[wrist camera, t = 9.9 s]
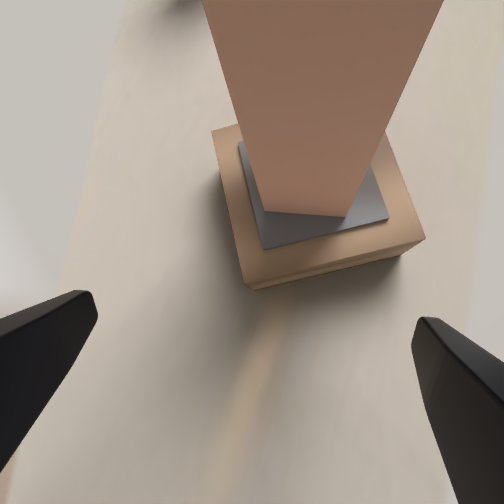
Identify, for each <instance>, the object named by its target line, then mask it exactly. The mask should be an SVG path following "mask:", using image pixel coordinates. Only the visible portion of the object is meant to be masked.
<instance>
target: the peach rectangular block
mask: <svg viewBox="0 0 504 504" xmlns="http://www.w3.org/2000/svg"><path fill="white" fill-rule="evenodd" d="M443 1H444V0H202V3H203V7H204V10H205V13H206V17H207V20H208V23H209V27H210V30H211V33H212V37H213V40H214V43H215V47H216V50H217V53H218V57H219V60H220V64H221V67H222V70H223V74H224V77H225V80H226V84H227V87H228V90H229V94H230V97H231V100H232V104H233V107H234V110H235V114H236V117H237V120H238V124H239V127H240V130H241V134H242V137H243V140H244V144H245V147H246V151H247V154H248V157H249V161H250V164H251V167H252V171H253V174H254V177H255V181H256V184H257V187H258V191H259V194H260V197H261V201H262V204H263V207H264V211H270V212H283V213H297V214H310V215H323V216H336V217H346V216H347V213H348V211H349V209H350V207H351V205H352V202H353V200H354V198H355V196H356V194H357V191H358V189H359V187H360V185H361V182H362V180H363V178H364V176H365V174H366V171H367V169H368V167H369V165H370V163H371V160H372V158H373V156H374V154H375V152H376V149H377V147H378V145H379V143H380V140H381V138H382V136H383V134H384V132H385V129H386V127H387V125H388V123H389V121H390V118H391V116H392V114H393V112H394V109H395V107H396V105H397V103H398V101H399V98H400V96H401V94H402V92H403V90H404V87H405V85H406V83H407V81H408V79H409V76H410V74H411V72H412V70H413V67H414V65H415V63H416V61H417V59H418V56H419V54H420V52H421V50H422V48H423V45H424V43H425V41H426V39H427V36H428V34H429V32H430V30H431V28H432V25H433V23H434V21H435V19H436V17H437V14H438V12H439V10H440V8H441V6H442V3H443Z"/></svg>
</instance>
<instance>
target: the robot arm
mask: <svg viewBox="0 0 504 504" xmlns="http://www.w3.org/2000/svg"><path fill="white" fill-rule="evenodd" d="M97 319H98V312H97V309H96V306H95V302H94V299H93V296H92V294H91V293H90V292H89V291H85V290H73V291H71V292H68V293H66V294H63V295H60V296H58V297H55V298H53V299H50V300H47V301H45V302H42V303H40V304H37V305H35V306H32V307H29V308H27V309H25V310H22V311H19V312H17V313H14V314H11V315H9V316H6V317H4V318H1V319H0V472H1V471H2V470H3V468H4V467H5V465H6V464H7V463H8V461H9V460H10V458H11V457H12V455H13V454H14V452H15V451H16V449H17V448H18V446H19V445H20V443H21V442H22V440H23V439H24V437H25V436H26V434H27V433H28V431H29V430H30V428H31V427H32V425H33V424H34V423H35V421H36V420H37V418H38V417H39V415H40V414H41V412H42V411H43V409H44V408H45V406H46V405H47V403H48V402H49V400H50V399H51V397H52V396H53V394H54V393H55V391H56V390H57V388H58V387H59V385H60V384H61V382H62V381H63V380H64V378H65V377H66V375H67V374H68V372H69V370H70V369H71V367H72V366H73V364H74V362H75V360H76V359H77V357H78V355H79V353H80V351H81V349H82V348H83V346H84V344H85V342H86V340H87V338H88V337H89V335H90V333H91V331H92V329H93V327H94V326H95V324H96V322H97ZM411 349H412V354H413V359H414V363H415V367H416V372H417V376H418V380H419V385H420V389H421V393H422V398H423V402H424V406H425V409H426V413H427V416H428V419H429V422H430V424H431V427H432V430H433V433H434V436H435V439H436V441H437V444H438V447H439V450H440V453H441V456H442V458H443V461H444V464H445V467H446V470H447V473H448V475H449V478H450V481H451V484H452V487H453V490H454V492H455V495H456V498H457V501H458V504H504V362H502V361H501V360H499V359H498V358H496V357H495V356H493V355H492V354H490V353H489V352H488V351H486V350H485V349H483V348H482V347H480V346H479V345H477V344H476V343H474V342H473V341H471V340H470V339H469V338H467V337H466V336H464V335H463V334H461V333H460V332H458V331H457V330H455V329H454V328H452V327H451V326H449V325H448V324H447V323H445V322H444V321H442V320H441V319H439V318H435V317H420V318H419V319H418V321H417V324H416V328H415V331H414V335H413V339H412V343H411Z"/></svg>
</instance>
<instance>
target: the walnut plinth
mask: <svg viewBox="0 0 504 504" xmlns="http://www.w3.org/2000/svg"><path fill="white" fill-rule="evenodd" d="M211 132H212V137H213V142H214V146H215V151H216V156H217V160H218V165H219V170H220V174H221V179H222V184H223V188H224V193H225V197H226V202H227V207H228V211H229V216H230V221H231V225H232V230H233V235H234V239H235V244H236V249H237V253H238V258H239V263H240V267H241V272H242V277H243V281H244V283H245V284H246V285H248V286H249V287H250V288H252V289H253V290H257V289H261V288H265V287H269V286H273V285H277V284H282V283H286V282H290V281H294V280H298V279H302V278H307V277H311V276H315V275H319V274H323V273H327V272H331V271H336V270H340V269H344V268H348V267H352V266H356V265H361V264H365V263H369V262H373V261H377V260H381V259H386V258H390V257H394V256H398V255H402V254H403V253H405V252H406V251H408V250H409V249H411V248H412V247H414V246H415V245H417V244H418V243H420V242H421V241H423V240H424V239H426V237H425V234H424V231H423V229H422V226H421V224H420V221H419V218H418V216H417V213H416V211H415V208H414V205H413V203H412V200H411V198H410V195H409V192H408V190H407V187H406V185H405V182H404V179H403V177H402V174H401V172H400V169H399V166H398V164H397V161H396V159H395V156H394V153H393V151H392V148H391V146H390V143H389V140H388V138H387V135H386V133H385V132H384V134H383V136H382V138H381V140H380V143H379V145H378V147H377V149H376V152H375V154H374V156H373V158H372V160H371V163H370V165H369V167H368V169H367V171H366V174H365V176H364V178H363V180H362V182H361V185H360V187H359V189H358V191H357V194H356V196H355V198H354V200H353V202H352V205H351V207H350V209H349V211H348V213H347V216H346V217H336V216H323V215H310V214H297V213H283V212H270V211H264V207H263V204H262V201H261V197H260V194H259V191H258V187H257V184H256V181H255V177H254V174H253V171H252V167H251V164H250V161H249V157H248V154H247V151H246V147H245V144H244V140H243V137H242V134H241V130H240V127H239V124H235V125H231V126H228V127H224V128H221V129H218V130H214V131H211Z"/></svg>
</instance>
